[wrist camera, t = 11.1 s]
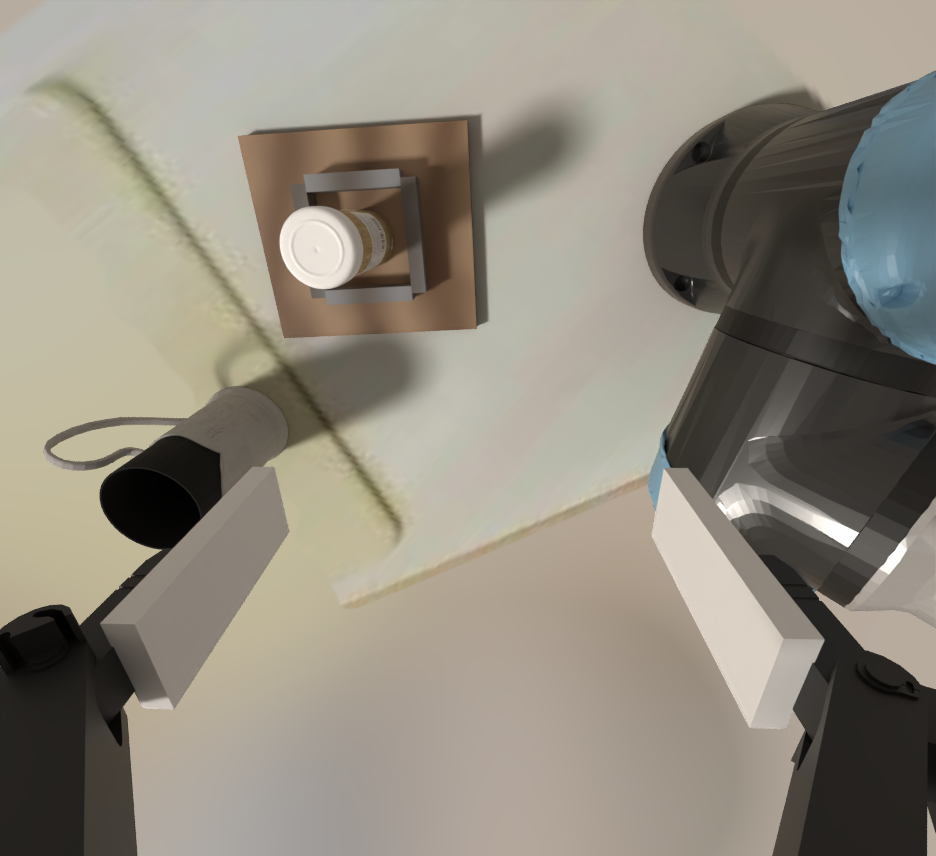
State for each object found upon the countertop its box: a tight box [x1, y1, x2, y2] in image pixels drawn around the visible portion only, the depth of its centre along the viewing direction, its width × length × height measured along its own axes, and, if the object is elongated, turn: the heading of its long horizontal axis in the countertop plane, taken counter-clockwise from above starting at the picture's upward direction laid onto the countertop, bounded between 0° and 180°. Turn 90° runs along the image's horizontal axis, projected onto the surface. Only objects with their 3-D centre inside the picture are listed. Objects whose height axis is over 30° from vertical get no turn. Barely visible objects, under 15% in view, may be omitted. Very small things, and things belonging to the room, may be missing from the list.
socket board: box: [238, 120, 477, 338], centre depth 38 cm, size 18×16×3 cm
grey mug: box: [44, 387, 288, 550], centre depth 40 cm, size 9×14×15 cm, turn 66°
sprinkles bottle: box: [280, 206, 394, 289], centre depth 32 cm, size 5×5×13 cm
